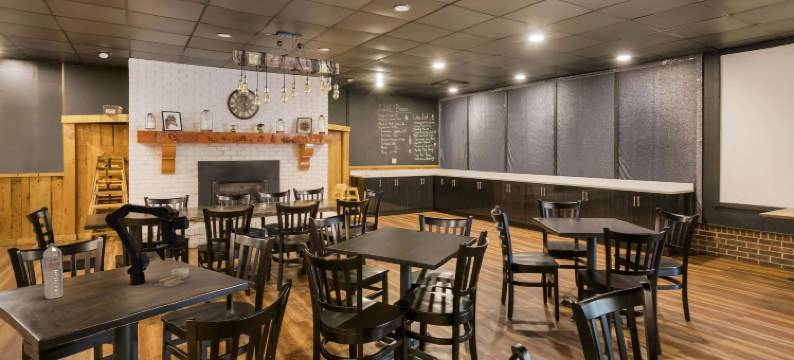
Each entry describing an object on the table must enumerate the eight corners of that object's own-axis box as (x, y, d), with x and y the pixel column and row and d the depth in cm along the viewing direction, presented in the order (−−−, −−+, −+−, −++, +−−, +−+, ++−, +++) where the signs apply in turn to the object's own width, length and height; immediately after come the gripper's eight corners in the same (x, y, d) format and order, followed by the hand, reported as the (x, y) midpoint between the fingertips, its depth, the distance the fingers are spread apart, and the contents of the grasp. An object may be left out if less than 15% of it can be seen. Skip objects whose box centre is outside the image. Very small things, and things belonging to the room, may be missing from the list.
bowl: (167, 279, 239) (167, 271, 239) (180, 275, 247) (179, 267, 247) (180, 281, 237) (180, 272, 236) (192, 276, 244) (192, 268, 244)
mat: (154, 285, 228) (154, 284, 228) (170, 280, 238) (170, 279, 238) (170, 287, 225) (170, 286, 225) (185, 282, 235) (185, 281, 235)
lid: (159, 284, 228) (159, 280, 228) (171, 280, 236) (171, 276, 236) (168, 285, 227) (168, 281, 226) (180, 281, 234) (180, 277, 234)
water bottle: (43, 300, 205) (41, 245, 203) (46, 295, 211) (44, 243, 209) (61, 298, 208) (59, 244, 207) (64, 293, 214) (62, 241, 213)
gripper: (193, 227, 233) (196, 257, 234) (166, 227, 240) (169, 256, 241) (175, 231, 223) (179, 262, 224) (148, 231, 230) (151, 262, 231)
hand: (170, 260), depth 230 cm, fingers open, 9 cm apart
